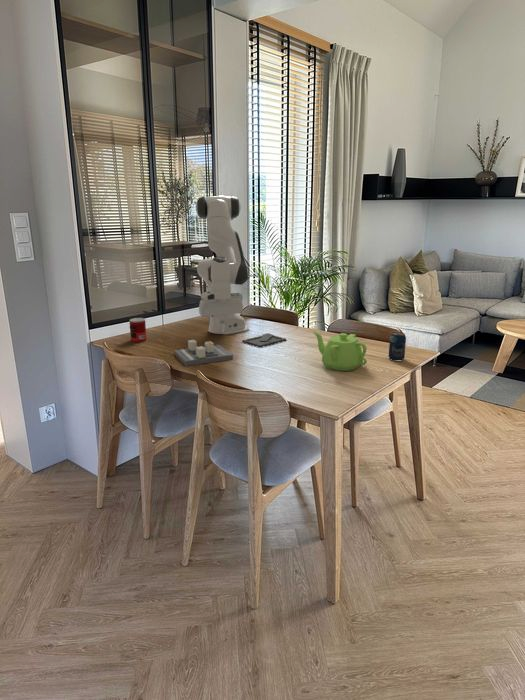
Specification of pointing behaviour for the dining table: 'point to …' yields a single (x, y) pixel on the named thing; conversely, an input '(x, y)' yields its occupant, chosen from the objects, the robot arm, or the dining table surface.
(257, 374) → the dining table surface
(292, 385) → the dining table surface
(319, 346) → the teapot
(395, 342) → the soda can
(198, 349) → the breaker
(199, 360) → the panel
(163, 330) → the dining table surface
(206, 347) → the breaker mid
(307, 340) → the dining table surface
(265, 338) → the picture frame
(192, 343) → the block
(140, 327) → the canned food
